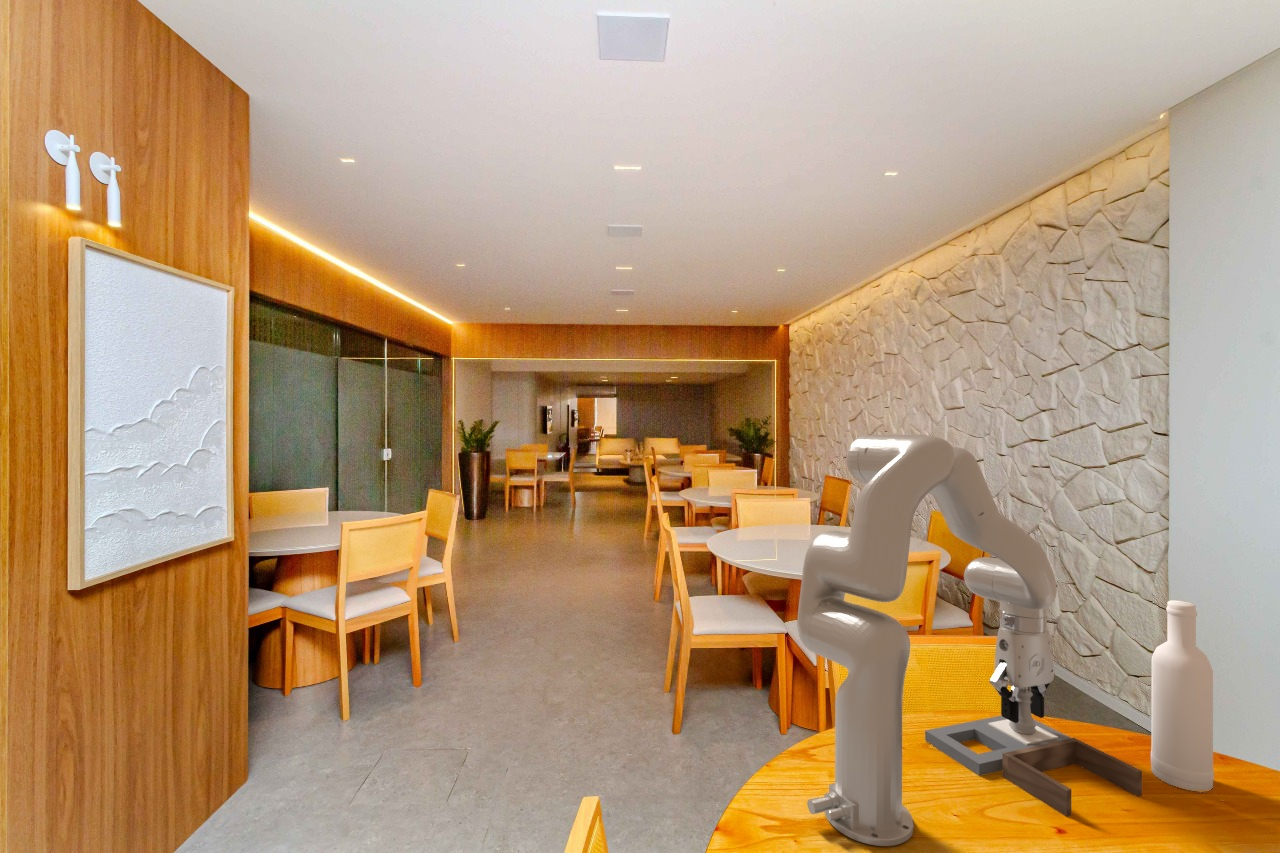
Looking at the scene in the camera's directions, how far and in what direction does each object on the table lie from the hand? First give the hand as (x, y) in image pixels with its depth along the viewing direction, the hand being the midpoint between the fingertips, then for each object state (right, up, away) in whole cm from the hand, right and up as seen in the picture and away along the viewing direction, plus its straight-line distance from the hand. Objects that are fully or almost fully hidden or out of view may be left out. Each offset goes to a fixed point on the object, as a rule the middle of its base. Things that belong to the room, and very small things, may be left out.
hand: (1022, 716), depth 113 cm
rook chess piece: (0, -3, 0) cm, 3 cm away
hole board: (-5, -5, -2) cm, 7 cm away
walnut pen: (-1, -5, -15) cm, 15 cm away
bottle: (+19, -5, -12) cm, 23 cm away
